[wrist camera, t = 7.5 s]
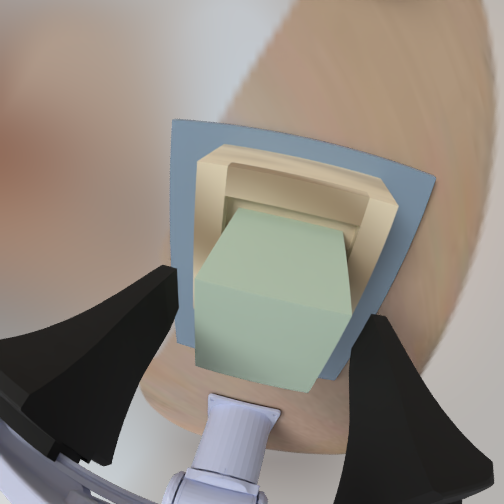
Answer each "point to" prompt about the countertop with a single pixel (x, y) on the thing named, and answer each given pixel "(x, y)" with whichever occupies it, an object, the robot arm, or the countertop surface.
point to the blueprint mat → (391, 173)
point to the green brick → (272, 300)
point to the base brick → (293, 203)
